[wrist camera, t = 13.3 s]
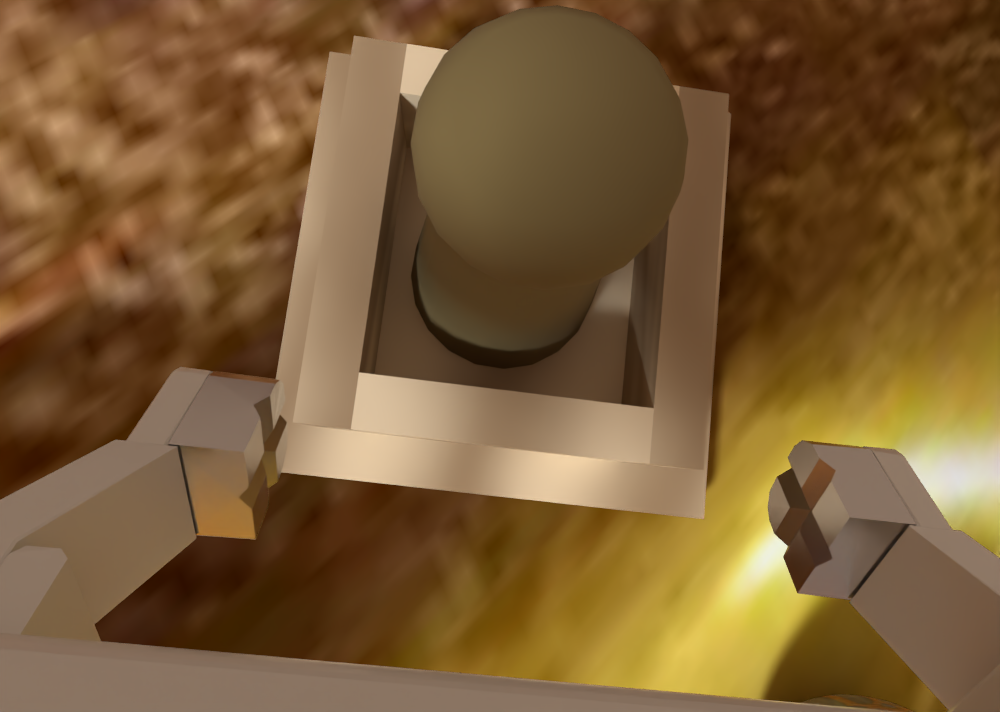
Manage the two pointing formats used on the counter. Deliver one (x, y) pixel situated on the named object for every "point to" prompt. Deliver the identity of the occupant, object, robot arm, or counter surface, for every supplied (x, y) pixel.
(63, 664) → the robot arm
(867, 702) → the vase
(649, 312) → the shaker holder
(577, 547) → the counter surface
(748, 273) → the counter surface
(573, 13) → the cork
